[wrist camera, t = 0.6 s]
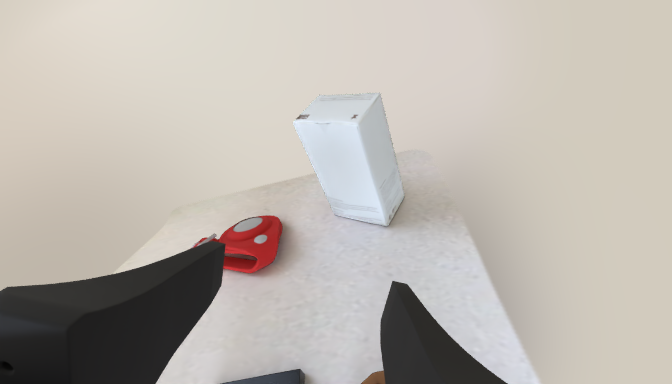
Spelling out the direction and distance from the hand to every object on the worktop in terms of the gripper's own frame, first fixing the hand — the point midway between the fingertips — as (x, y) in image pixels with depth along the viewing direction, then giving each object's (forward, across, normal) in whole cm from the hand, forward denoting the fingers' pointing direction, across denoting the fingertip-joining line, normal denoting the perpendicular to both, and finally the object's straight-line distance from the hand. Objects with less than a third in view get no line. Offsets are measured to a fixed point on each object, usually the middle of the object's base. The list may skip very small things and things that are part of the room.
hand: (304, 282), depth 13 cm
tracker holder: (+26, +10, +14) cm, 31 cm away
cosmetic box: (+28, -5, +6) cm, 29 cm away
